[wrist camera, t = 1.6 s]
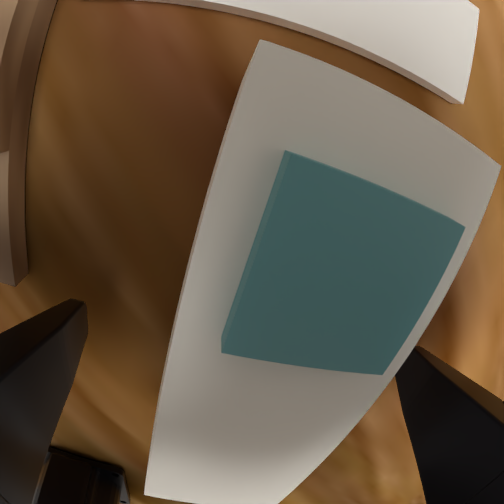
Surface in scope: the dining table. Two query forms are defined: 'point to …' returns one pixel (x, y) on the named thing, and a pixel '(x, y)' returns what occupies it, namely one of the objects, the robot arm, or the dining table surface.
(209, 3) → the strip
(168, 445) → the white box
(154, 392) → the dining table surface
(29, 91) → the cradle
